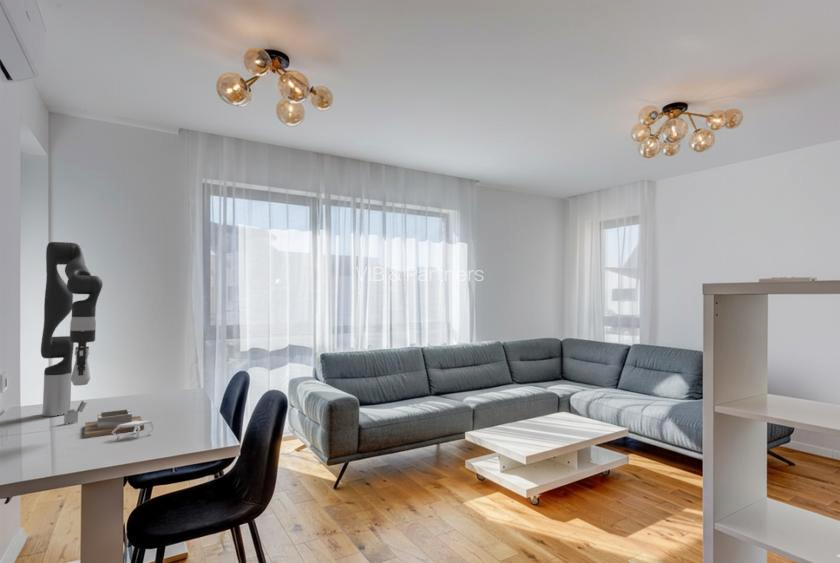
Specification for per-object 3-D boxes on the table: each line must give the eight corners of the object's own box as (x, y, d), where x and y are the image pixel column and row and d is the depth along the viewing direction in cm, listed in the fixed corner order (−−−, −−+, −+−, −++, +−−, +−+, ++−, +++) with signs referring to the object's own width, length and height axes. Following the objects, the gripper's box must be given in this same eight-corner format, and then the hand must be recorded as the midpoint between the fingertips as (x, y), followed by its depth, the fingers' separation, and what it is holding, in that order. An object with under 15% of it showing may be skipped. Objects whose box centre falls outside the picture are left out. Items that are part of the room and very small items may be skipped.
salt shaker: (73, 386, 159) (74, 350, 160) (68, 384, 163) (70, 349, 163) (92, 384, 164) (94, 349, 164) (87, 382, 167) (89, 347, 168)
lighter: (65, 424, 174) (66, 404, 175) (63, 423, 175) (64, 403, 176) (86, 420, 181) (87, 400, 181) (84, 419, 181) (85, 400, 182)
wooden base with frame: (84, 426, 172) (85, 412, 172) (139, 419, 182) (140, 405, 183) (84, 437, 157) (85, 422, 158) (144, 429, 168) (144, 414, 168)
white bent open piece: (145, 430, 167) (146, 417, 167) (154, 434, 162) (155, 421, 162) (108, 438, 158) (109, 424, 158) (116, 442, 152) (117, 428, 153)
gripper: (71, 328, 168) (69, 374, 167) (68, 330, 156) (66, 379, 155) (95, 327, 172) (94, 372, 171) (95, 329, 161) (93, 377, 160)
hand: (81, 375), depth 163 cm, fingers closed on salt shaker, 3 cm apart
